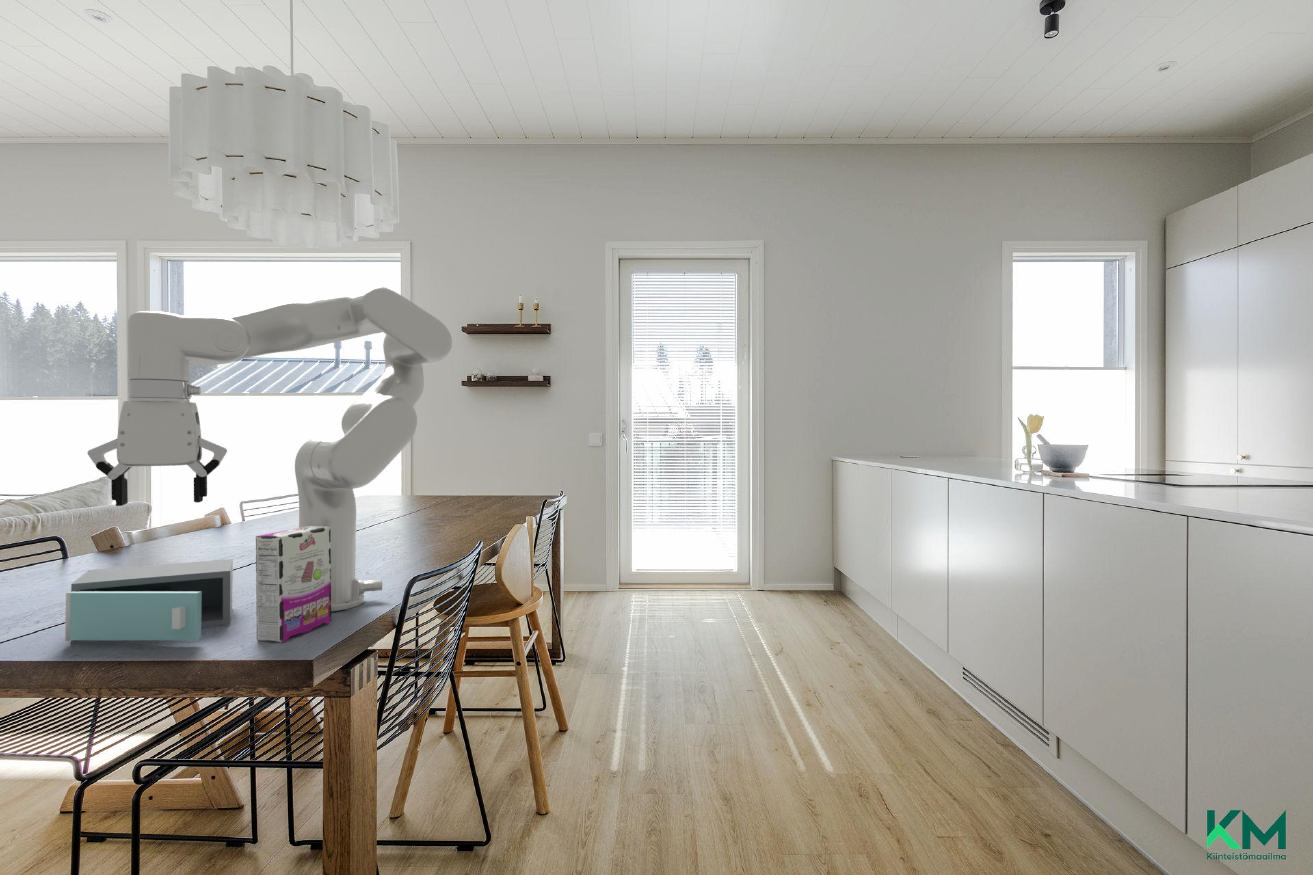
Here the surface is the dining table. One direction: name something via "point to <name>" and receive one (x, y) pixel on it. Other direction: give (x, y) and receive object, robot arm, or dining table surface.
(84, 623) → the side door
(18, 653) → the dining table surface
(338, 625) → the dining table surface
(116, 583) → the case
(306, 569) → the candy bar box
